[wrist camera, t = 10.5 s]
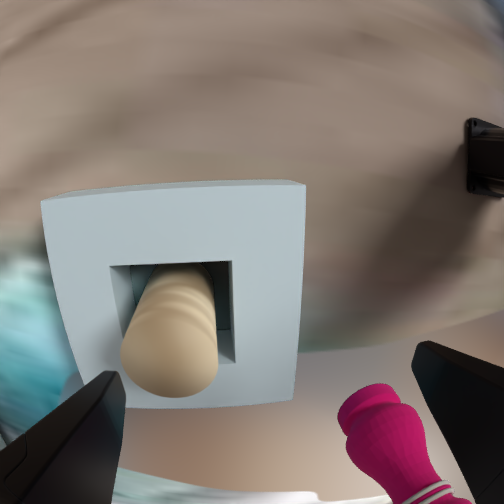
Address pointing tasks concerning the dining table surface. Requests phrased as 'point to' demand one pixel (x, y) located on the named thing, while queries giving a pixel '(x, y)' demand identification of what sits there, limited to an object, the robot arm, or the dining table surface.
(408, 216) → the dining table surface
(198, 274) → the birch peg
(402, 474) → the pepper mill
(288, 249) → the socket block
